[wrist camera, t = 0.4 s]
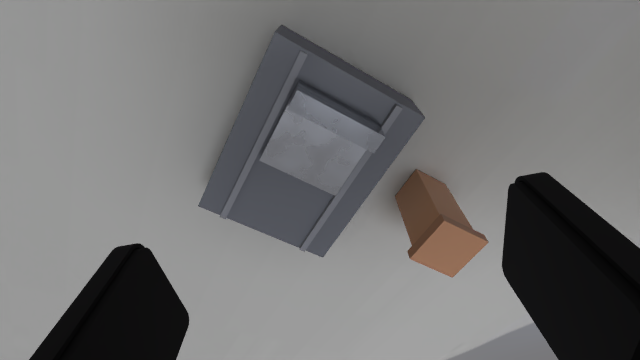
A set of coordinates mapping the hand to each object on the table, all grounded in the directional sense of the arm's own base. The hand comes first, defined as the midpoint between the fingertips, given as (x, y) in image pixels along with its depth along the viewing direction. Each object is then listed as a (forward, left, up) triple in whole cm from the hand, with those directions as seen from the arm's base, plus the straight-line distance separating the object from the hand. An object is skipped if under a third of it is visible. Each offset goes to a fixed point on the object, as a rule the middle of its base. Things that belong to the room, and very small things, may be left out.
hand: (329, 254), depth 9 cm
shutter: (-2, +5, -20) cm, 21 cm away
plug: (-16, +7, -26) cm, 31 cm away
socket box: (-2, +8, -26) cm, 27 cm away
